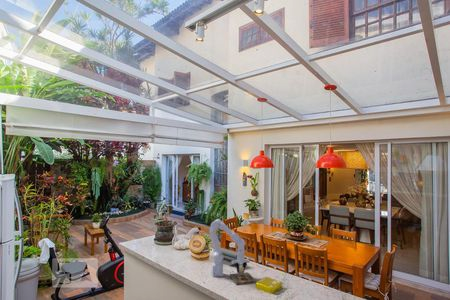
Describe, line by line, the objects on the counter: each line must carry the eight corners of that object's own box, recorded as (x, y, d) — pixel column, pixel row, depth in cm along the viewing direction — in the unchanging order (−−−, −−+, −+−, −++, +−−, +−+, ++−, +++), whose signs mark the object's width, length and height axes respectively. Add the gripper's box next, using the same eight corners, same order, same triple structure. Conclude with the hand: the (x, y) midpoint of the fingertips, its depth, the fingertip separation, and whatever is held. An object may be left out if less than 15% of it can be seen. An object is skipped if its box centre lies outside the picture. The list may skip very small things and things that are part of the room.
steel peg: (239, 276, 214) (239, 267, 214) (237, 274, 218) (237, 265, 218) (243, 276, 215) (243, 267, 215) (242, 274, 219) (242, 265, 219)
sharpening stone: (215, 261, 252) (215, 249, 253) (220, 259, 258) (221, 247, 258) (235, 268, 235) (235, 255, 236) (241, 265, 241) (241, 253, 242)
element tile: (265, 282, 208) (265, 275, 209) (283, 287, 199) (283, 281, 199) (254, 288, 197) (255, 281, 197) (273, 295, 187) (273, 288, 188)
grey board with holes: (236, 284, 201) (236, 282, 202) (229, 276, 218) (229, 273, 218) (256, 282, 206) (256, 280, 206) (248, 274, 222) (248, 272, 222)
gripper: (233, 257, 211) (233, 275, 211) (251, 255, 215) (250, 273, 215) (231, 254, 218) (230, 271, 217) (247, 253, 222) (247, 270, 221)
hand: (240, 272), depth 216 cm, fingers closed on steel peg, 4 cm apart
